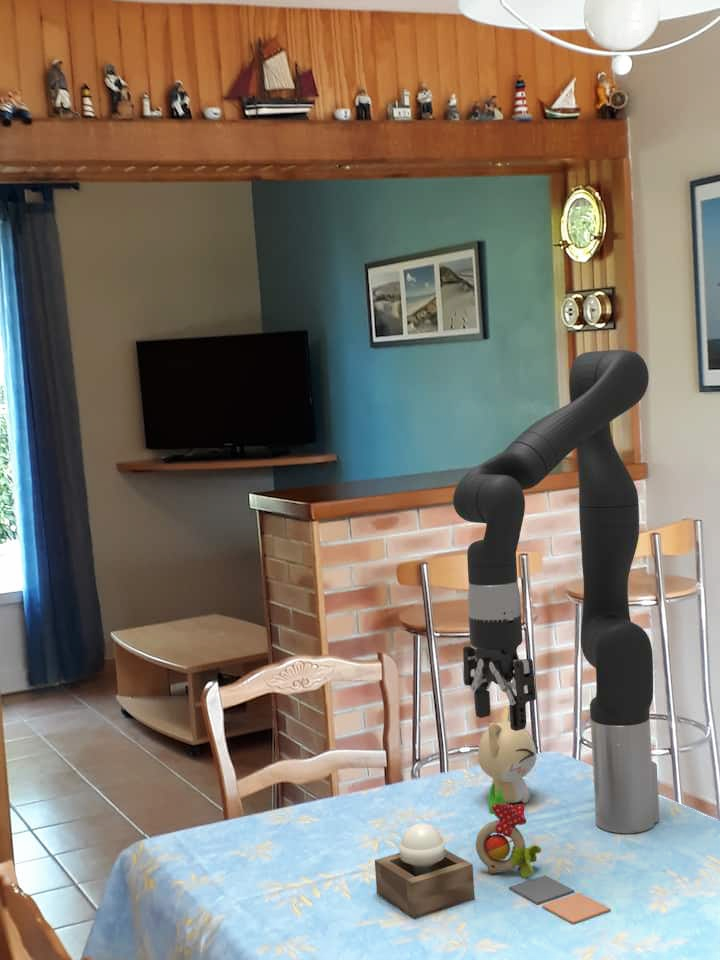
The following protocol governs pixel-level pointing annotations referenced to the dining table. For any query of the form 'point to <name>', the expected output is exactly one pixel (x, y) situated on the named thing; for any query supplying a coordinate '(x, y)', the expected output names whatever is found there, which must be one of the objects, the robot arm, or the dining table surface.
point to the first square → (541, 889)
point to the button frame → (424, 884)
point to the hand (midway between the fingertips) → (500, 722)
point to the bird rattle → (506, 841)
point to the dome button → (422, 848)
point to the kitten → (507, 761)
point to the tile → (576, 908)
